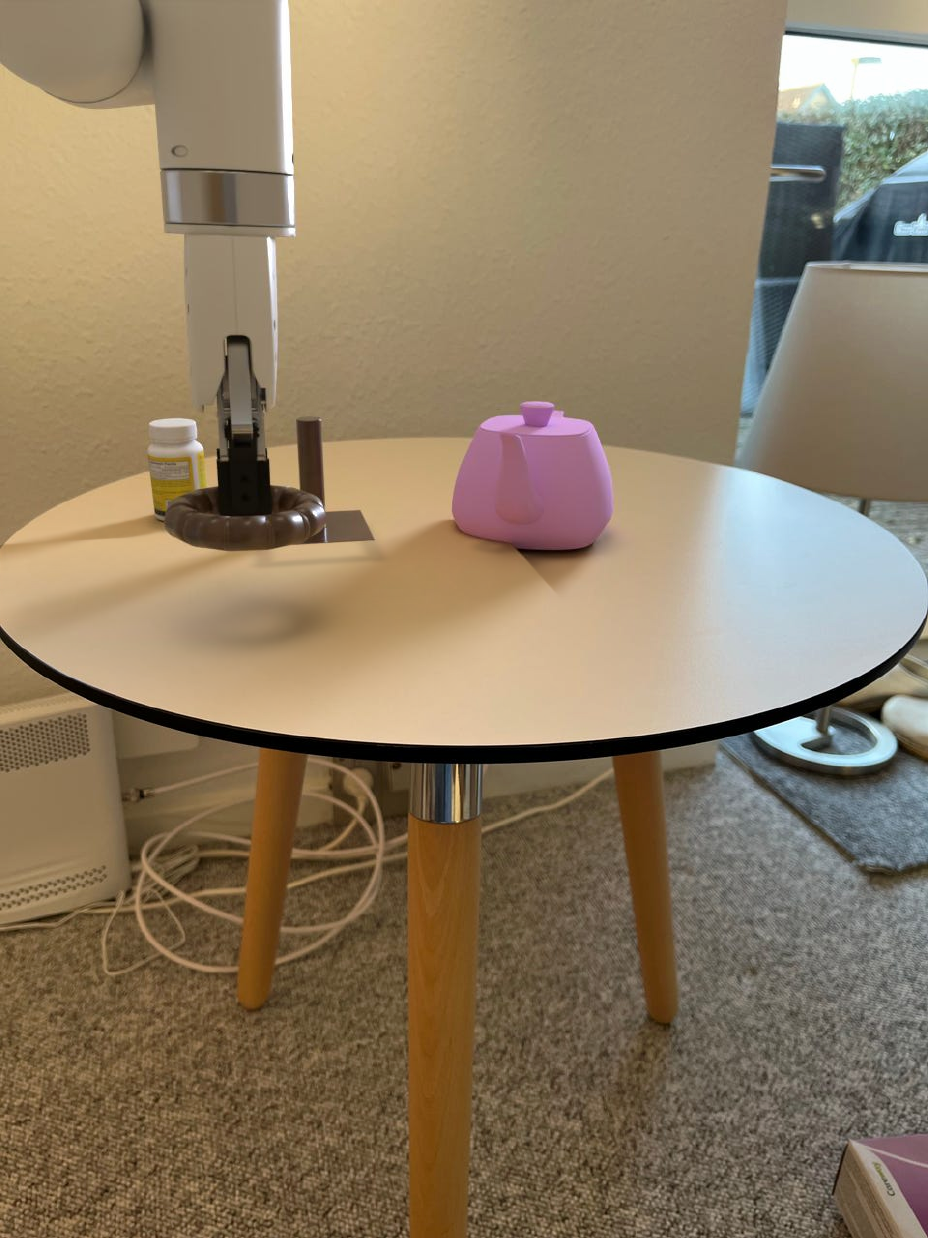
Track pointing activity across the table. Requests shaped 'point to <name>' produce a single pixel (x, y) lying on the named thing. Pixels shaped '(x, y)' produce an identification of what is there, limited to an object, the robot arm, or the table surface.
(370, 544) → the table surface
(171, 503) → the ring
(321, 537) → the stand
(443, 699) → the table surface
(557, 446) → the teapot
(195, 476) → the supplement bottle
